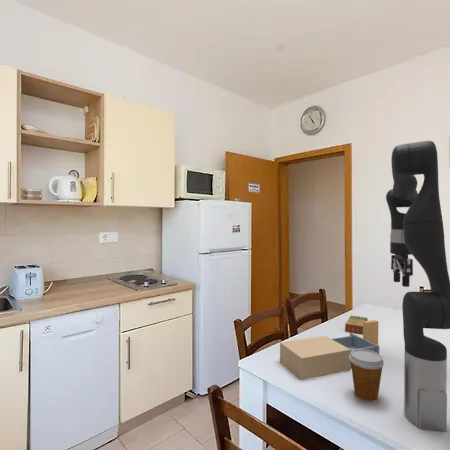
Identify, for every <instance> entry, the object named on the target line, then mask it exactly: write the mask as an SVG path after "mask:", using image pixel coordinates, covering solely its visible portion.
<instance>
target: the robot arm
mask: <svg viewBox="0 0 450 450" xmlns="http://www.w3.org/2000/svg"><path fill="white" fill-rule="evenodd" d="M391 152H392V153H391V163H390V164H391V172H392V179H393V186H392V188H391V189H390V190H388V191H387V192H386V196H385V198H386V199H385V200H386V201H385V202H386V203H387V207H388V209H389V214H390V235H389V246H390V249H389V253H390V254H391V256H390V257H391V258H390V260H391V262H390V269H391V270H392V272H393V282H394V283H400V282H401V286H402V287H404V288H409V287H410V280H411V279H410V278H411V276H413V274H414V271H413V270H414V268H413V267H414V266H413V265H414V264H413V263H414V260H413V258H409V255H410V256H413V257H414V259H415V260H416V261H417V262H418V264H419V265H420V266H421V268H422V270H423V271H424V272H425V275H426V276H427V277H426V278H427V279H428V282H429V283H428V284H429V286H430V291H407V292H406V293H404V295H403V298H402V305H401V306H402V324H403V325H402V326H403V327H402V328H403V342H404V369H403V370H404V372H403V373H404V374H403V375H404V378H403V379H404V382H403V387H404V391H403V397H404V398H403V399H404V400H403V401H404V402H403V404H404V405H403V407H404V408H403V410H404V411H403V413H404V416H405V418H406V419H407V420H408V421H410V422H411V423H412V424H413V425H416V426H417V427H418V429H420V430H429V431H438V432H447V431H448V429H447V428H448V417H447V416H448V394H447V379H448V378H447V377H448V375H447V373H448V372H447V368H448V349H447V347H446V346H445V344H443V343H442V342H440V341H439V340H436V339H435V338H434V339H433V338H432V337H428V336H426V335H425V334H424V329H430V330H431V329H432V330H435V329H436V330H450V275H449V270H448V264H447V263H448V262H447V255H446V253H447V251H446V243H445V241H446V239H445V231H444V229H445V228H444V221H443V214H442V209H441V207H442V206H441V200H440V191H439V190H440V189H439V185H440V184H439V160H438V150H437V146H436V144H435V142H434V141H432V140H423V141H417V142H409V143H401V144H399V145H395V146H394V148H393V150H392V151H391ZM416 175H418V176H419V175H423V183H422V185H421V188H420V190H419V192H418V191H417V187H418V179H417V178H416ZM398 208H408V209H407V210H406V212H405V213H404V212H400V211H399V210H398ZM401 275H402V277H401Z"/></svg>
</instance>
